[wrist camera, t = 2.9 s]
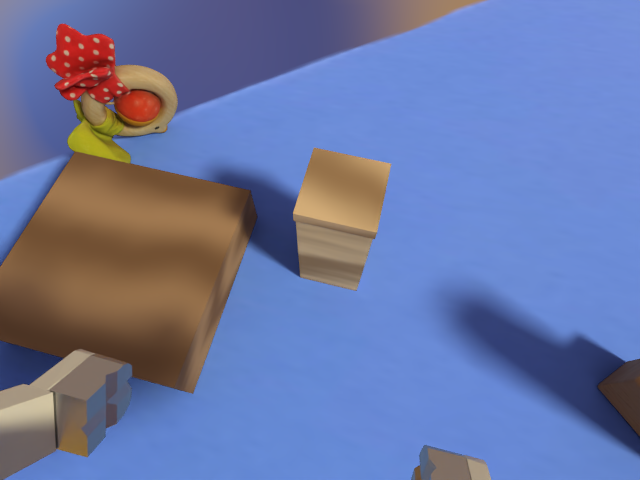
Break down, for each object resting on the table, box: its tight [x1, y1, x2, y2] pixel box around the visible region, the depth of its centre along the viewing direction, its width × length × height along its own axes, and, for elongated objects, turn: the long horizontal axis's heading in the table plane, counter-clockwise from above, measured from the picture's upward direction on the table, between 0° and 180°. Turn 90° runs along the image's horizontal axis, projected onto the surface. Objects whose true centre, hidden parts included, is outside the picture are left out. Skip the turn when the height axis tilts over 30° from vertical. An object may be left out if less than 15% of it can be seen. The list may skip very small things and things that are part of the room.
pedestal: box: [0, 151, 257, 394], centre depth 28 cm, size 14×14×4 cm
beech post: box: [293, 148, 391, 291], centre depth 27 cm, size 5×5×10 cm
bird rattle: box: [46, 24, 178, 163], centre depth 32 cm, size 6×11×9 cm
